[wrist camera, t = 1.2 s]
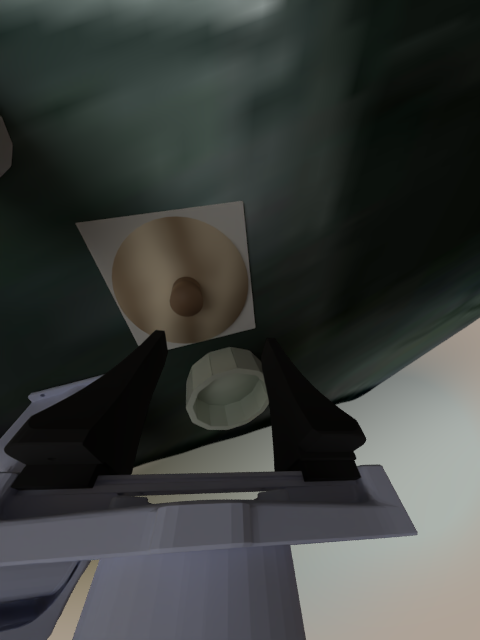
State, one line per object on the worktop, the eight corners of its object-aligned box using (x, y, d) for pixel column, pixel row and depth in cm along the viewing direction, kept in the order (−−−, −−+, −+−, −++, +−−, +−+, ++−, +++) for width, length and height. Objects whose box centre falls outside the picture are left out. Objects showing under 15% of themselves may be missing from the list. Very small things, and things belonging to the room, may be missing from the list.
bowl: (198, 412, 31) (199, 439, 27) (177, 360, 25) (175, 385, 21) (263, 392, 33) (273, 414, 29) (258, 339, 27) (270, 358, 23)
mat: (144, 353, 23) (143, 355, 23) (78, 223, 16) (75, 223, 15) (254, 326, 26) (255, 327, 25) (241, 201, 18) (242, 200, 18)
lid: (146, 351, 23) (138, 376, 19) (84, 228, 16) (53, 230, 12) (251, 325, 25) (262, 343, 21) (238, 207, 18) (251, 202, 14)
